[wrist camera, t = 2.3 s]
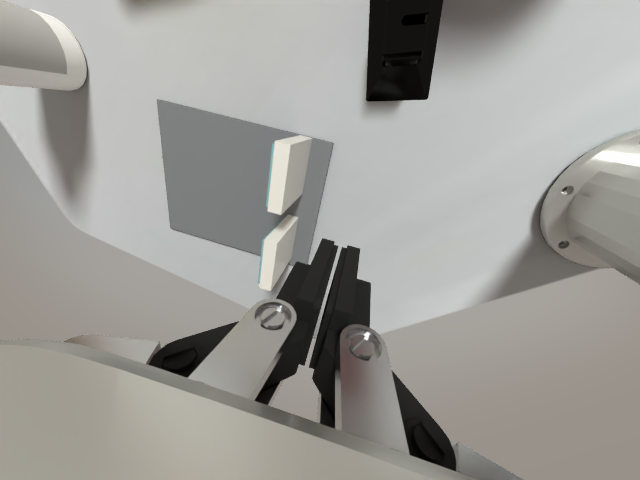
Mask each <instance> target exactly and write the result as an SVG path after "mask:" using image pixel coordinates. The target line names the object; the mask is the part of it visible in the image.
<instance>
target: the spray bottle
mask: <svg viewBox="0 0 640 480" xmlns="http://www.w3.org/2000/svg"><path fill="white" fill-rule="evenodd" d="M86 76H87V66H86V61H85V57H84V54H83V51H82V49H81V47H80V44H79V43H78V41H77V39H76V38H75V36H74V35H73V33H72V32H71V31H70V30H69V29H68V28H67V27H66V26H65V25H64V24H63V23H62V22H60V21H59V20H57V19H56V18H54V17H52V16H51V15H47V14H44V13H41V12H38V11H35V10H31V9H28V8H25V7H22V6H18V5H15V4H12V3H9V2H6V1H2V0H0V85H9V86H20V87H32V88H44V89H55V90H67V91H72V90H77V89H79V88H80V87H81V86H82V85H83V84H84V82H85V79H86Z"/></svg>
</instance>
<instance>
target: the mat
mask: <svg viewBox="0 0 640 480" xmlns="http://www.w3.org/2000/svg"><path fill="white" fill-rule="evenodd" d="M157 106H158V115H159V125H160V134H161V144H162V153H163V162H164V172H165V181H166V191H167V200H168V209H169V219H170V228H172V229H175V230H178V231H181V232H185V233H188V234H191V235H195V236H198V237H201V238H205V239H208V240H211V241H215V242H218V243H221V244H224V245H228V246H231V247H234V248H238V249H241V250H244V251H248V252H251V253H254V254H258V255H261V249H262V240H263V239H264V238H265V237H266V236H267V235H268V234H269V233H270V232H271V231H272V230H273V229H274V228H275V227H276V225H277V224H278V223H279V222H280V221H281V220H282V219H283V218H284V217H286V216H287V215H288V214H289V215H292V216H296V217H298V223H297V228H296V234H295V240H294V245H293V251H292V257H291V259H290V261H289V263H288V264H291V265H295V263H296V262H297V261H298V262H301V263H305V264H307V263H308V259H309V254H310V249H311V245H312V240H313V236H314V231H315V226H316V222H317V217H318V213H319V208H320V204H321V199H322V194H323V190H324V185H325V181H326V176H327V171H328V167H329V162H330V158H331V153H332V148H333V144H334V143H332V142H328V141H324V140H320V139H316V138H312V137H310V138H312V143H311V149H310V154H309V160H308V166H307V171H306V177H305V183H304V189H303V194H302V195H301V196H300V197H299V198H298V199H297V200H296V201H295V202H294V203H293V204H292V205H291V206H290V207H289V208H288V209H287V210H286V211H285V212H284V213H283V214H282V215H279V214H275V213H272V212H268V211H267V210H268V207H267V206H266V200H267V191H268V181H269V171H270V161H271V152H272V144H273V143H275V141H277V140H281V139H286V138H290V137H294V136H299V135H300V134H296V133H292V132H288V131H284V130H280V129H275V128H271V127H267V126H263V125H259V124H255V123H251V122H247V121H243V120H239V119H235V118H231V117H227V116H223V115H219V114H215V113H211V112H207V111H203V110H199V109H195V108H191V107H187V106H183V105H179V104H175V103H171V102H167V101H163V100H158V99H157ZM302 136H304V135H302ZM306 137H308V136H306Z"/></svg>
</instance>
